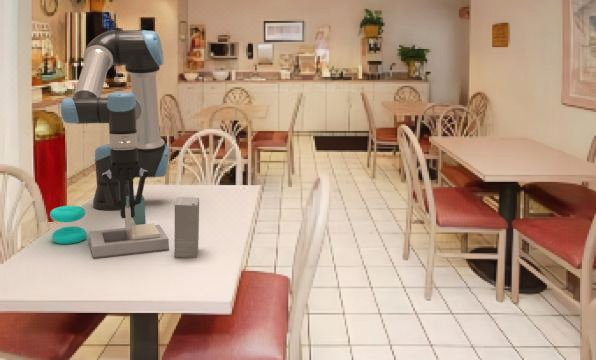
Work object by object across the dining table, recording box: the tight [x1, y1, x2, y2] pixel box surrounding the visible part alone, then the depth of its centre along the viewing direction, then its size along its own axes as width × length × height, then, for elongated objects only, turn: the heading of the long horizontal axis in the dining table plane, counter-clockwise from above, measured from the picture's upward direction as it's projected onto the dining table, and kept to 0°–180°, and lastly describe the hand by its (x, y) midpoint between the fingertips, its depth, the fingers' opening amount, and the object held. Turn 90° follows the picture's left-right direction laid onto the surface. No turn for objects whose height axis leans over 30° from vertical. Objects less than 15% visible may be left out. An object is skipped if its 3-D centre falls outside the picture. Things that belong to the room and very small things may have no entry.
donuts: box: [49, 205, 88, 245], centre depth 189 cm, size 10×10×10 cm
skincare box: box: [173, 196, 200, 259], centre depth 176 cm, size 8×7×16 cm
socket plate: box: [88, 224, 170, 260], centre depth 183 cm, size 16×21×4 cm
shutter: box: [128, 218, 160, 240], centre depth 184 cm, size 12×8×4 cm, turn 22°
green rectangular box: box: [126, 194, 147, 225], centre depth 195 cm, size 5×5×12 cm
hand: (128, 228), depth 180 cm, fingers closed
